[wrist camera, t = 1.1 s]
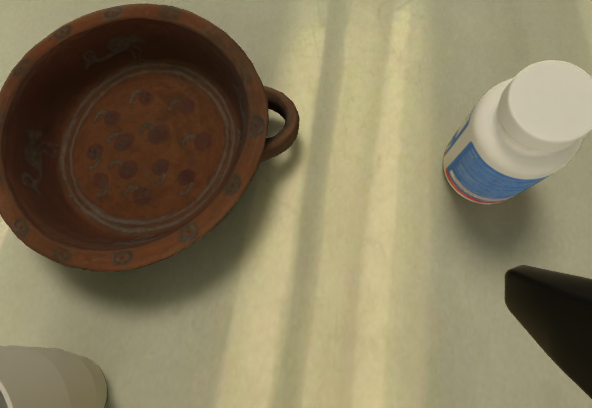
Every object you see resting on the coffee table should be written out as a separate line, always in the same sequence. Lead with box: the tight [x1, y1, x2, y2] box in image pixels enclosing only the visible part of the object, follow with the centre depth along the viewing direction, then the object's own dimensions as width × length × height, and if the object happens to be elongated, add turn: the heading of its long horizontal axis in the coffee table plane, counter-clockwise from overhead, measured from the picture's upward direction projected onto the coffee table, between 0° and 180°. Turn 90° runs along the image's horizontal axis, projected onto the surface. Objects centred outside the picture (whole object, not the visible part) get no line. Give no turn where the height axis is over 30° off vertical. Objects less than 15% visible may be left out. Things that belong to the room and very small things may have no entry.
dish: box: [0, 4, 299, 272], centre depth 29 cm, size 18×22×5 cm
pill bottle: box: [443, 60, 592, 204], centre depth 24 cm, size 6×5×10 cm
